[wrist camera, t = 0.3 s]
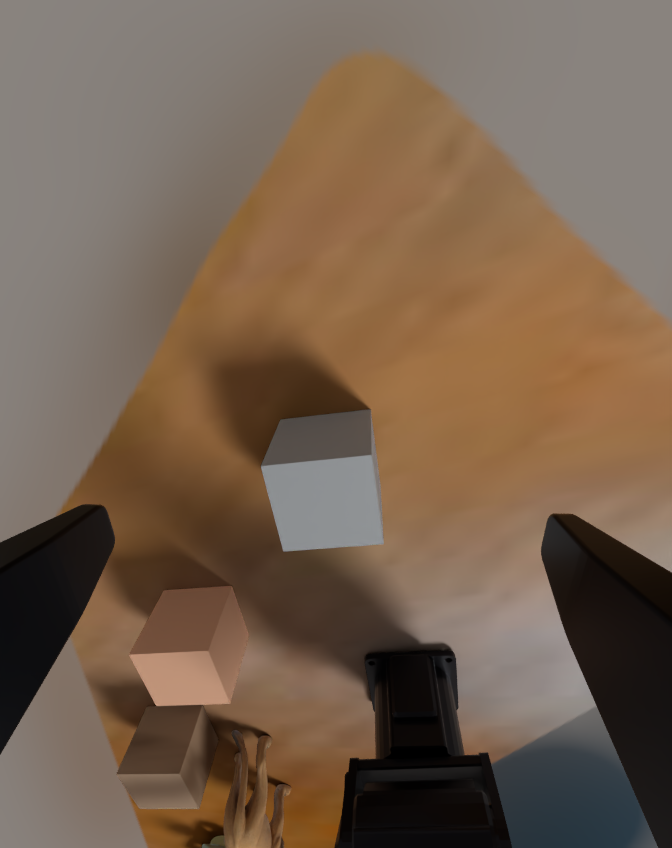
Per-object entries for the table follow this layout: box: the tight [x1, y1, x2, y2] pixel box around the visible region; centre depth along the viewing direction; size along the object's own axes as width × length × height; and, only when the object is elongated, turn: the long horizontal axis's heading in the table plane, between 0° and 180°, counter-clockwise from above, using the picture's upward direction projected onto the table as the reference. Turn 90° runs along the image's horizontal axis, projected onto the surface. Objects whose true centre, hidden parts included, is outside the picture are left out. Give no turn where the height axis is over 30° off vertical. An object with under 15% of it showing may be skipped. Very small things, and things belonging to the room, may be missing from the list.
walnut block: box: [117, 705, 219, 809], centre depth 35 cm, size 5×5×5 cm
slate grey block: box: [261, 409, 384, 552], centre depth 22 cm, size 5×5×5 cm
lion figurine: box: [224, 730, 291, 848], centre depth 35 cm, size 15×5×9 cm, turn 17°
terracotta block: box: [129, 586, 249, 706], centre depth 29 cm, size 5×5×5 cm
